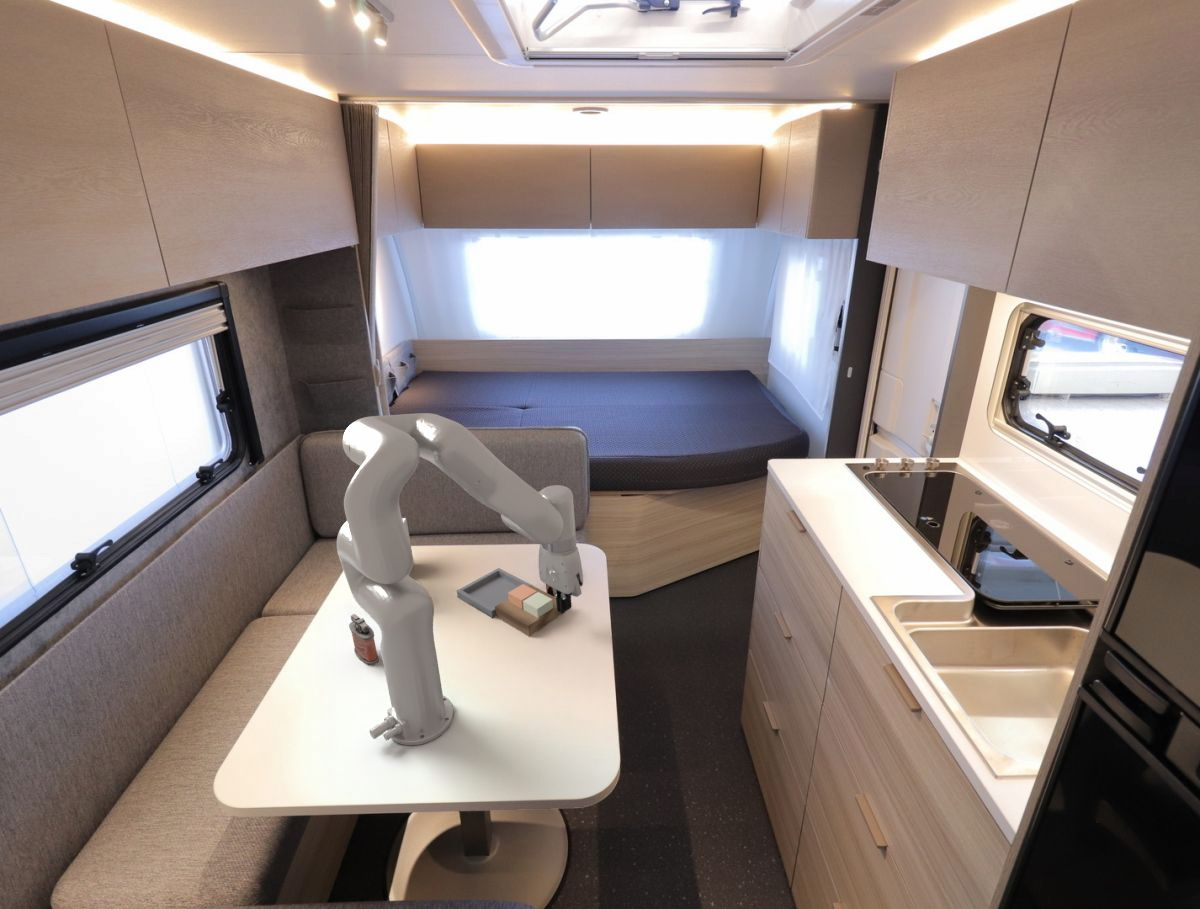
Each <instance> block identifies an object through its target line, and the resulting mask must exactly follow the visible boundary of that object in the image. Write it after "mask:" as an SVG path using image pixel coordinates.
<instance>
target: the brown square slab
mask: <svg viewBox="0 0 1200 909" xmlns="http://www.w3.org/2000/svg"><path fill="white" fill-rule="evenodd" d="M532 585H533V584H531V585H530V586H529V587H530V588H532V589H534V590H536V591H537V592H539V593H541V594H543V595H545V596H547V597H549V598H551V599H552V601H553V608H552V609H551V610H549V611H548V612H546V613H545V614H543V615H542V616H540V617H539V618H537V617H535V616H534V615H532V614H530V613H528V612H526V611H525V610H524V608H523V609H521V608H519V607H518V606H516V605H514V604H512V603H510V602H509V600H508V599H507V600H505V601H503V602H502V603H500V604H498V605H497V606H495V611H496V616H495V618H498V619H499V620H501V621H502V622H504V623H506V624H508V625H509V626H510V627H513V628H514V629H516V630H518V631H520V632H521V633H523V634H524V635H526V636H528V637H531V636H532V635H533V634H534V635H535V633H537V632H538V631H540V630H541V629H543V628H544V627H545V626H547V625H549V624H550V623H552V622H554V621H555V620H556V619H558V618H559V617H561V616H562V615H564V614H565V613H563V614H562V613H561V612H559V611H557V603H556V596H552V595H550V594H548V593H547V591H544V590H542V589H540V588H538V587H537V586H534V585H533V586H532Z"/></svg>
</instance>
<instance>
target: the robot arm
mask: <svg viewBox="0 0 1200 909" xmlns="http://www.w3.org/2000/svg"><path fill="white" fill-rule="evenodd" d="M342 448H343V451H344V453H345V454H346V456H347V457H348V458H349V459H350V461H352V462H353V463H355V464H356V465H358V466H359V468H357V470H356V472H355V473H354V475H353V477H352V478H351V480H350V482H349V484H348V486H347V488H346V491H345V493H344V496H343V498H344V499H343V509H344V513H345V517H346V518H345V519H346V521H345V522H344V523H343V525H342V526H341V527H340V528H339V530H338V534H337V537H336V552H337V555H338V558H339V561H340V564H341V567H342V570H343V573H344V575H345V578H346V581H347V584H348V587H349V590H350V593H351V594H352V597H353V599H354V601H355V602H356V603H357V604H358V606H360V608H362V609H363V611H365V612H366V614H368V616H369V617H370V618H371V619H372V620H373V621H374V622H375V623H376V624H377V625H378V627H379V630H380V632H381V640H380V641H381V642H380V654H381V659H382V660H381V661H382V665H383V669H384V674H385V679H386V684H387V690H388V695H389V699H390V700H389V701H390V704H391V705H390V706H391V707H390V708H388V709H387V716H386V717H384V719H383V720H384V721H382V722H381V723H379V724H376V725H375V726H374V727H372V728H371V729H369V734H370V737H371V738H372V739H373V740H376V739H378V738H379V737H380V736H383V738H384V740H385V741H386V742H388V741H389V740H390V739H392V740H393V741H394V742H396V743H398V744H401V745H405V746H417V745H418V746H419V745H422V744H426V743H428V742H432V741H433V740H435V739H437V738H438V737H440V736H441V735H442V734H444V733H445V732H446V731H447V730H448V728H450V726H451V725H452V723H453V719H454V716H455V715H454V714H455V713H454V712H455V710H454V707H453V703H452V701H451V700H450V699H449V698H448V697H447V696H445V695H444V694H443V687H442V681H441V676H440V675H441V674H440V668H439V661H438V656H437V649H436V643H435V638H434V615H435V614H434V613H435V608H434V602H433V599H432V597H431V595H430V593H429V592H428V591H427V590H426V589H425V587H423V586H422V585H421V584H420V583H419V582H418V581H416V580H415V579H414V578H412V577H411V576H410V575H409V576H408V575H407V574H408V573H409V571H410V568H411V565H412V555H413V549H412V545H411V546H410V543H411V542H410V543H409V540H408V536H407V533H406V530H405V526H404V523H403V520H402V518H403V517H402V512H401V507H400V494H401V492H402V491H403V489H404V487H405V485H406V483H407V482H408V481H409V479H410V478H411V477H412V476H413V474H414V473H415V471H416V469H417V468H418V465H419V463H420V458H422V459H424V460H426V461H428V462H430V463H432V464H433V465H435V466H436V467H437V468H439V470H440V471H441V472H443V473H444V474H445V475H446V476H448V477H449V478H451V479H452V480H453V481H454V482H455V483H456V484H457V485H459V487H460V488H462V489H463V490H464V491H465V492H466V493H467V494H469V495H470V496H471V497H472V498H473V499H475V500H476V501H477V502H479V503H480V504H482V505H484V506H486V508H489V509H491V510H493V511H495V512H497V513H499V514H500V518H501V520H502V523H503V524H504V525H505V526H506V527H507V528H508V529H510V530H511V531H513V532H515V533H517V534H519V535H522V536H524V537H525V538H526V539H529V540H531V541H532V542H534V543H535V544H538V545H539V550H538V577H539V580H540V581H541V582H542V583H543V584H545V585H546V584H547V585H549V586H551V587H552V588H553V593H554V595H555V596H554V597H556V603H557V611H559V612H561V613H562V615H564V614H565V613H566V612H568V611H569V610H570V609H572V597H577V598H578V597H579V596H581V595H582V593H583V592H582V589H581V587H582V586H583V585H584V584H583V583H584V577H583V576H584V574H583V567H582V566H583V565H582V560H581V555H580V552H579V548H578V546H577V535H576V534H577V533H576V520H575V518H576V517H575V507H574V496H573V492H572V490H571V489H570V488H569V487H568V486H564V485H559V484H557V485H556V484H555V485H548V486H546V487H543V488H542V489H541V490H540V491H537V490H536V489H535V488H534V487H533V486H531V485H530V484H528V483H527V482H526V481H525V480H523V479H522V478H521V477H520V476H519V475H517V473H515V472H514V471H513V470H511V469H510V468H508V467H507V466H506V465H505V464H504V463H502V461H501V460H500V459H499V458H497V456H496V455H495V454H493V453H492V451H490V450H489V449H488V448H487V447H486V446H485V445H484V444H483V443H482V442H481V441H480V440H479V439H478V438H477V437H476V436H475V435H474V434H473V433H472V432H471V431H470V430H469V429H468V428H466V427H465V425H462V424H461V423H459V422H457V421H455V420H453V419H450V418H448V417H445V416H441V415H439V414H436V413H429V412H426V413H425V412H423V413H422V412H421V413H405V414H402V413H401V414H391V415H390V414H387V415H385V414H384V415H371V416H365V417H362V418H359V419H357V420H355V421H353V422H352V423H351V424H349V426H348V427H346V429H345V431H344V433H343V435H342ZM411 549H412V550H411ZM563 613H564V614H563ZM386 731H387V732H386Z"/></svg>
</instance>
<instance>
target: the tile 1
mask: <svg viewBox="0 0 1200 909" xmlns="http://www.w3.org/2000/svg"><path fill="white" fill-rule="evenodd" d="M535 593H537V591H536V590H534V589H532V588H530V587H528V586H526V585H524V584H522V585H520V586H519V587H517V588H515V589H514V590H512V591H510V592H508V600H509V602H510V603H512V604H514V605H516V606H518V607H519V608H521V609H523V601H524V600H526V599H527V598H529V597H530V596H532V595H534V594H535Z"/></svg>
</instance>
